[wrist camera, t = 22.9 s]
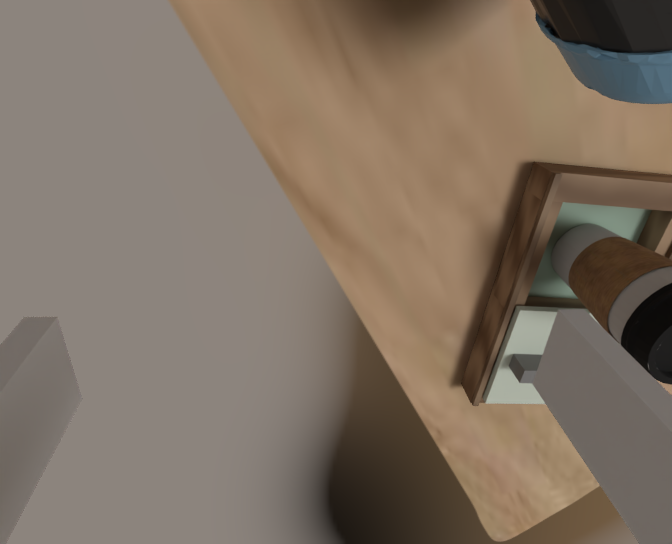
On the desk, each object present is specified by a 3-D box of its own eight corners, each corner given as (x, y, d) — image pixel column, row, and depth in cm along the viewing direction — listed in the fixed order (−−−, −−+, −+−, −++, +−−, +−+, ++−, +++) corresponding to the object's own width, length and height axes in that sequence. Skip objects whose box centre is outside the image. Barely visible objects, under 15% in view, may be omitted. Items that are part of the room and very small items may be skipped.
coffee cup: (633, 208, 43) (788, 291, 30) (607, 285, 47) (733, 387, 34) (548, 212, 42) (670, 299, 29) (530, 290, 46) (629, 397, 33)
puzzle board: (534, 161, 40) (554, 173, 37) (682, 176, 42) (713, 188, 39) (461, 383, 53) (472, 405, 50) (578, 385, 55) (596, 407, 52)
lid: (516, 305, 44) (532, 325, 41) (636, 311, 46) (660, 330, 43) (482, 397, 49) (494, 421, 47) (590, 399, 51) (608, 422, 48)
